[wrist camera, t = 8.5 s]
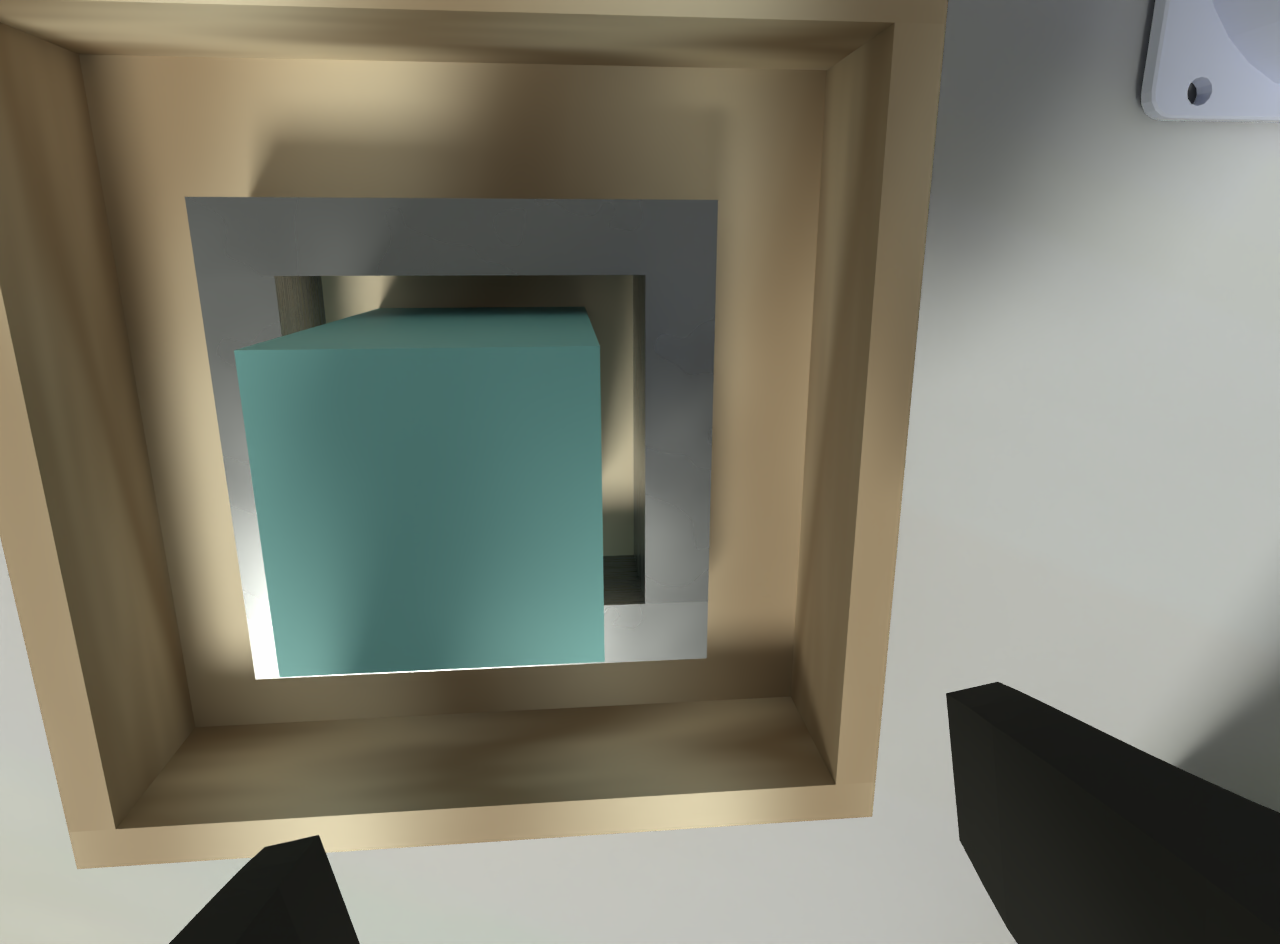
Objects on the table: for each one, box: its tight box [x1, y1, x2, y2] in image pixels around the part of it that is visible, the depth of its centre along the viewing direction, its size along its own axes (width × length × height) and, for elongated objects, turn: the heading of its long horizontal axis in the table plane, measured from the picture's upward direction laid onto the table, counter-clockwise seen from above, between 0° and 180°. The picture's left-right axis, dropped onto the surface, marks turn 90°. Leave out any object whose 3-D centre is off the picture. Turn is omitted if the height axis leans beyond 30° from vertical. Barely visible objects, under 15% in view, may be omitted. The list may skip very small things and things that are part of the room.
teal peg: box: [234, 307, 605, 677], centre depth 13 cm, size 4×4×7 cm
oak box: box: [0, 0, 948, 869], centre depth 15 cm, size 15×15×4 cm
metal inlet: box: [185, 197, 718, 679], centre depth 15 cm, size 8×8×2 cm
